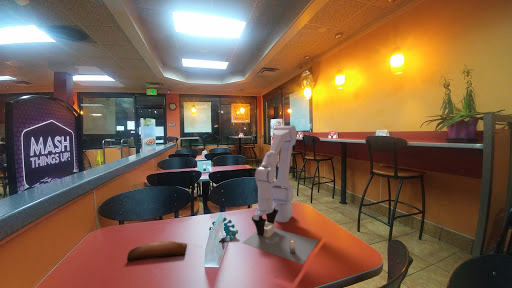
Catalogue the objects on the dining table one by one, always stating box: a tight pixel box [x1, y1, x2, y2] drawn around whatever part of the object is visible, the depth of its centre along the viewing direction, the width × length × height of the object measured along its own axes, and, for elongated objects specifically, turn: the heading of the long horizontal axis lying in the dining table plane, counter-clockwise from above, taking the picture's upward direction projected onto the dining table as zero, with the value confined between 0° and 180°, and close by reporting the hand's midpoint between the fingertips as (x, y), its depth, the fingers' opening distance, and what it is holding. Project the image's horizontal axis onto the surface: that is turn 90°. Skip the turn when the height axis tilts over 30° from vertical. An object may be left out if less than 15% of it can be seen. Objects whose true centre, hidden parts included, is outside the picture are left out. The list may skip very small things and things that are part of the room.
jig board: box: [241, 228, 319, 265], centre depth 75 cm, size 16×23×1 cm
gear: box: [208, 216, 239, 241], centre depth 79 cm, size 11×6×10 cm
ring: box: [255, 221, 276, 237], centre depth 81 cm, size 5×5×3 cm
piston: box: [289, 239, 296, 254], centre depth 68 cm, size 2×2×4 cm
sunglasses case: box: [126, 240, 188, 262], centre depth 70 cm, size 18×7×7 cm
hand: (265, 231), depth 82 cm, fingers open, 7 cm apart
